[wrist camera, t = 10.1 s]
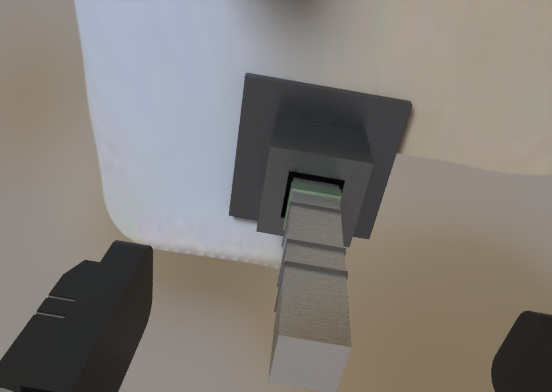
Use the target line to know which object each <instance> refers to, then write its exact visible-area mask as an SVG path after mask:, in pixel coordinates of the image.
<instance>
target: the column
mask: <svg viewBox="0 0 552 392" xmlns="http://www.w3.org/2000/svg"><path fill="white" fill-rule="evenodd" d="M341 198H342V193H341V190H340V189H339V185H335V184H329V183H323V182H317V181H311V180H306V179H300V178H294V179H293V181H292V183H291V188H290V193H289V198H288V203H287V208H286V214H285V219H284V225H283V230H285V231H284V236H283V241H282V247H283V251H282V260H281V268H280V273H279V278H278V284H277V287H278V294H277V299H276V304H275V312H276V315H275V325H274V333H273V343H272V352H271V361H270V370H269V379H268V382H270V383H276V384H282V385H288V386H294V387H300V388H306V389H312V390H318V391H324V392H336V391H337V388H338V385H339V382H340V379H341V376H342V373H343V371H344V368H345V365H346V362H347V359H348V356H349V353H350V350H351V334H350V322H349V310H348V296H347V285H346V280H347V277H348V273H347V271H345V260H344V257H345V254H346V249H345V248H344V246H343V234H342V221H341V217H342V210H341V209H340V202H341Z"/></svg>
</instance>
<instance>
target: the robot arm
mask: <svg viewBox="0 0 552 392" xmlns="http://www.w3.org/2000/svg"><path fill="white" fill-rule="evenodd" d="M152 285H153V249H152V247H151V246H149V245H143V244H137V243H131V242H125V241H119V240H116V241H114V242H113V243H112V245H111V246H110V248H109V249H108V251H107V252H106V254H105V255H104V257H103V258H102V260H101V262H95V261H88V260H84V261H83V262H81V263H80V264H78V265H77V266H75V267H74V268H72V269H71V270H69V271H68V272H66V273H65V274H63V276H62V277H61V278H60V280H59V281H58V282H57V284H56V285H55V286H54V288H53V289H52V290H51V292H50V293H49V297H48V298H46V299H45V300H44V301H43V303H42V304H41V306H40V307H39V308H38V310H37V313H36V315H33V317H32V318H31V319H30V321H29V322H28V323H27V325H26V326H25V327H24V329H23V330H22V332H21V333H20V334H19V336H18V337H17V339H16V340H15V341H14V342H13V344H12V345H11V347H10V348H9V349H8V351H7V352H6V354H5V355H4V356H3V358H2V359H1V360H0V392H118V391H119V388H120V386H121V384H122V382H123V379H124V377H125V375H126V372H127V370H128V368H129V365H130V363H131V361H132V358H133V356H134V354H135V351H136V349H137V347H138V344H139V342H140V340H141V337H142V335H143V333H144V330H145V328H146V325H147V322H148V319H149V315H150V311H151V305H152ZM491 376H492V384H493V387H494V390H495V392H552V315H550V314H544V313H538V312H532V311H525V312H523V313H521V314H520V316H519V317H518V318H517V320H516V322H515V324H514V325H513V327H512V328H511V330H510V332H509V333H508V335H507V337H506V338H505V340H504V342H503V343H502V345H501V347H500V349H499V350H498V352H497V354H496V355H495V357H494V360H493V363H492V369H491Z"/></svg>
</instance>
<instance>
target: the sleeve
mask: <svg viewBox="0 0 552 392" xmlns="http://www.w3.org/2000/svg"><path fill="white" fill-rule="evenodd" d="M411 106H412V104H411V102H410V101H406V100H400V99H395V98H389V97H383V96H377V95H372V94H366V93H360V92H354V91H349V90H343V89H337V88H331V87H325V86H320V85H314V84H308V83H302V82H297V81H291V80H285V79H279V78H273V77H268V76H262V75H256V74H250V73H246V75H245V82H244V90H243V99H242V108H241V116H240V125H239V133H238V142H237V150H236V159H235V167H234V176H233V184H232V193H231V202H230V210H229V216H235V217H241V218H246V219H252V220H258V224H257V232H263V233H269V234H275V235H280V236H284V231H285V230H283V225H284V219H285V214H286V208H287V203H288V198H289V193H290V188H291V183H292V181H293V179H294V178H300V179H306V180H311V181H317V182H323V183H329V184H335V185H339V189H340V190H341V193H342V198H341V202H340V209H341V210H342V217H341V221H342V234H343V246H346V247H349V246H350V243H351V240H352V237H358V238H364V239H369V238H370V235H371V232H372V229H373V226H374V222H375V219H376V216H377V213H378V210H379V207H380V204H381V201H382V197H383V194H384V191H385V188H386V185H387V182H388V178H389V175H390V172H391V169H392V166H393V163H394V160H395V156H396V153H397V150H398V147H399V144H400V141H401V138H402V135H403V132H404V128H405V125H406V122H407V119H408V116H409V113H410V110H411Z"/></svg>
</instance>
